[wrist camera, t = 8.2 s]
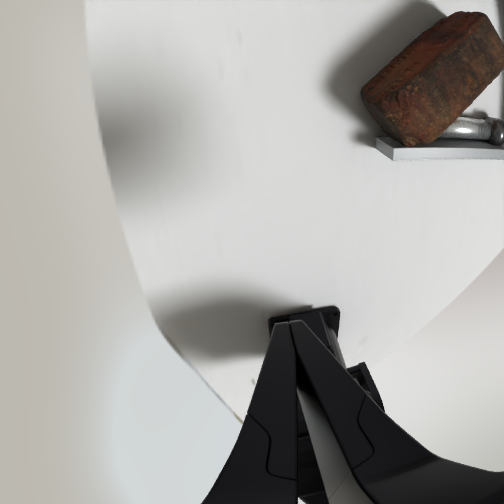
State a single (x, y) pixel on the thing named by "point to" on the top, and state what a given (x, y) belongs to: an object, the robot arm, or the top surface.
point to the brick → (435, 78)
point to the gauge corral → (440, 149)
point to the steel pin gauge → (477, 130)
